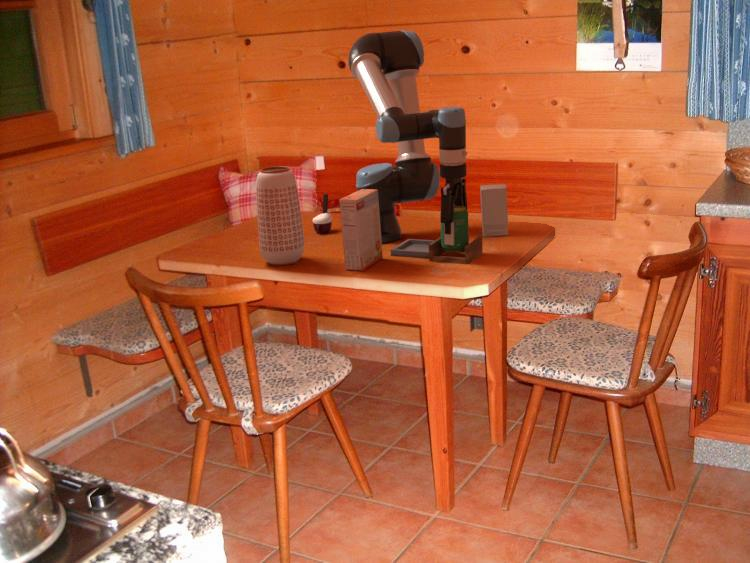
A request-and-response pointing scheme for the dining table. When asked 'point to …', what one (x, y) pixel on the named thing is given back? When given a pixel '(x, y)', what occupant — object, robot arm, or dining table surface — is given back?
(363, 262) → the cracker box
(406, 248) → the tray
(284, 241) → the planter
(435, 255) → the caddy
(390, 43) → the robot arm
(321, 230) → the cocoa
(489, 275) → the dining table surface
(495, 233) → the skincare box
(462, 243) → the beverage can
